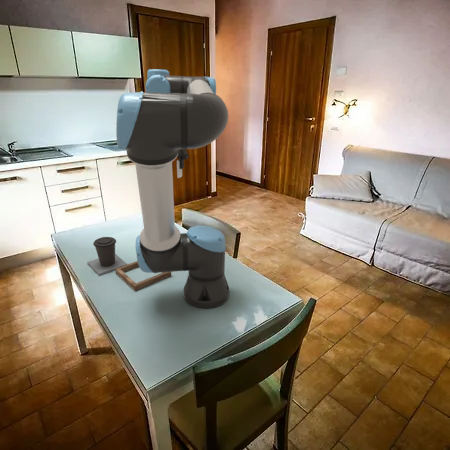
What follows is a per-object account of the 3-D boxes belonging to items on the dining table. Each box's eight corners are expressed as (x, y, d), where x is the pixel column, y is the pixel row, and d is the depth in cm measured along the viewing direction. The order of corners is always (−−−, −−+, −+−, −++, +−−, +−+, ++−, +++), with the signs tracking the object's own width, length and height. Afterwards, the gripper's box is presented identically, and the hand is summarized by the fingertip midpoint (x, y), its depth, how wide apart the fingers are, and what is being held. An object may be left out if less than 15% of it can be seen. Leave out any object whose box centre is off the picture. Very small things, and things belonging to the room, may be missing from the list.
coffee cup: (105, 256, 126) (102, 233, 122) (123, 259, 124) (120, 236, 120) (91, 266, 119) (87, 242, 115) (110, 270, 117) (106, 246, 113)
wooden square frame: (171, 276, 116) (170, 270, 115) (135, 291, 107) (134, 284, 106) (150, 260, 125) (150, 254, 124) (116, 273, 116) (115, 267, 115)
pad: (127, 265, 121) (127, 263, 121) (99, 275, 115) (98, 273, 114) (114, 254, 129) (114, 253, 129) (87, 263, 122) (87, 262, 122)
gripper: (196, 118, 114) (197, 176, 123) (135, 114, 121) (140, 169, 129) (188, 120, 107) (189, 181, 116) (124, 116, 114) (129, 174, 123)
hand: (163, 175), depth 123 cm, fingers open, 13 cm apart
